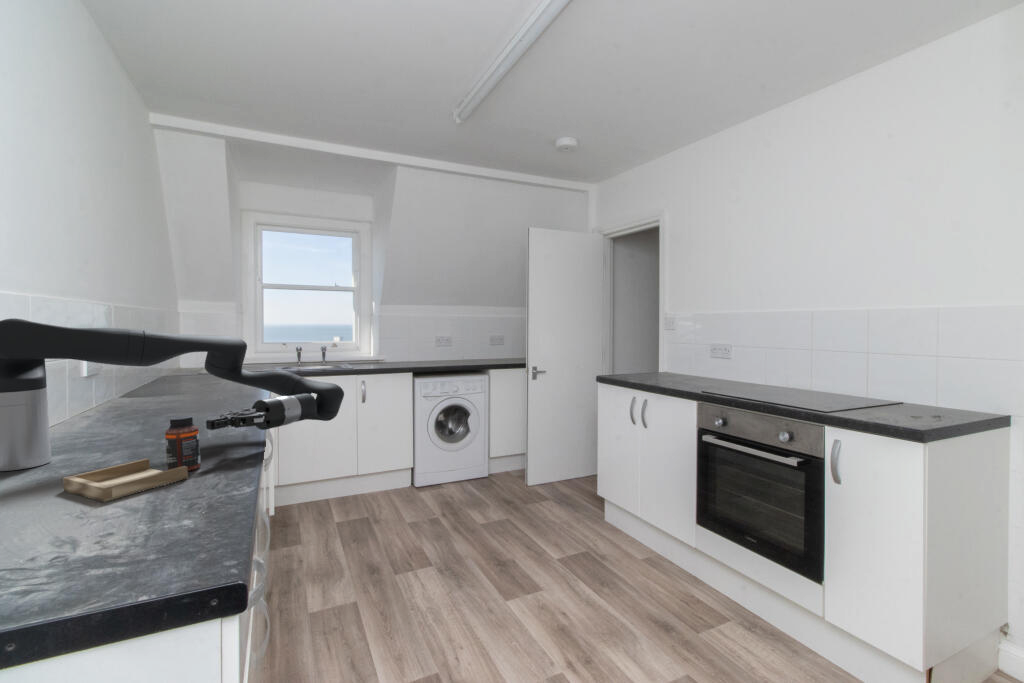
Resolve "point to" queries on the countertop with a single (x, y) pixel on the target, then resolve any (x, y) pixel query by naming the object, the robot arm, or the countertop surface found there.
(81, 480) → the beech tray
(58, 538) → the countertop surface
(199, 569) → the countertop surface
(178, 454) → the supplement bottle
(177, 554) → the countertop surface
